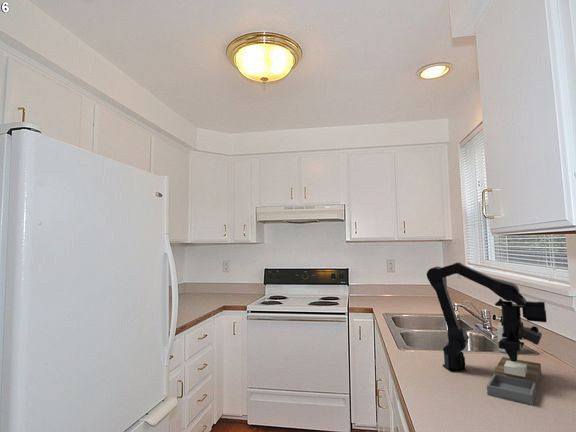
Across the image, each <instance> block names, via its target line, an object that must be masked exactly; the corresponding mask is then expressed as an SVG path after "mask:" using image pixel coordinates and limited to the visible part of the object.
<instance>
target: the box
mask: <svg viewBox="0 0 576 432" xmlns="http://www.w3.org/2000/svg"><path fill="white" fill-rule="evenodd" d="M486 394H487V396H491V397H494V398H499V399H503V400H507V401H511V402H516V403H519V404H523V405H529V406H533V404H534V402H535V397H536V395H537V391H536V382H534V381H529V380H524V379H519V378H514V377H509V376H504V375H499V374H495V373H493V375H492V376H491V377H490V380H488V383H487V385H486Z"/></svg>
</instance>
